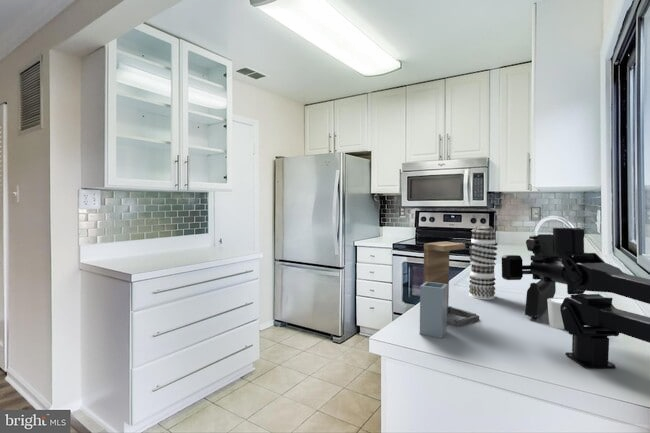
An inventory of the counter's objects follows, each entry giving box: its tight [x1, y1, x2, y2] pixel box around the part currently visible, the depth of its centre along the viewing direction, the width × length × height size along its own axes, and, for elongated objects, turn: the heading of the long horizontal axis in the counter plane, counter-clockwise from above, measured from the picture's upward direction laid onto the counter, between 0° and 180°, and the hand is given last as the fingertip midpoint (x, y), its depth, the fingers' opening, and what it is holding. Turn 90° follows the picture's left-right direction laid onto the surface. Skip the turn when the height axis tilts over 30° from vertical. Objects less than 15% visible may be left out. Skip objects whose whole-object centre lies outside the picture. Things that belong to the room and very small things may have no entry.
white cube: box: [547, 297, 565, 330], centre depth 99 cm, size 7×7×7 cm
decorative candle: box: [468, 225, 498, 301], centre depth 129 cm, size 9×9×25 cm
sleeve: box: [419, 282, 448, 339], centre depth 94 cm, size 6×6×12 cm
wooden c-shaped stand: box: [422, 241, 480, 328], centre depth 106 cm, size 12×10×22 cm
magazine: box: [524, 279, 557, 318], centre depth 115 cm, size 17×3×30 cm
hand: (518, 263), depth 102 cm, fingers open, 9 cm apart
